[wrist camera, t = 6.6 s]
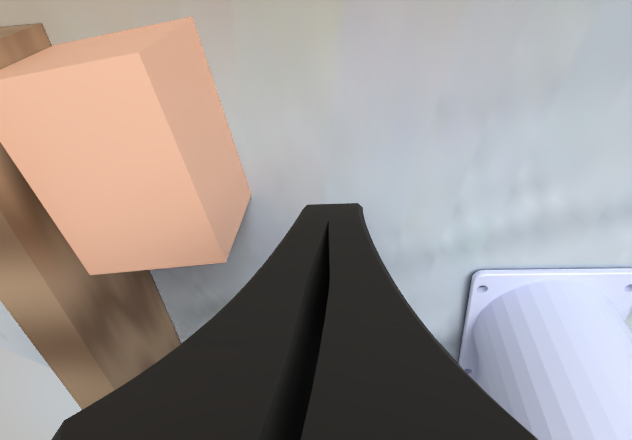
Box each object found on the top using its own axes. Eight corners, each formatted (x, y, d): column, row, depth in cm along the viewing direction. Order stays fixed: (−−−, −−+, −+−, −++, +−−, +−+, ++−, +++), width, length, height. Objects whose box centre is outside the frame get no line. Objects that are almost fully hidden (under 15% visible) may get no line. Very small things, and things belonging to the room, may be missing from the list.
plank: (199, 385, 31) (168, 474, 26) (165, 384, 31) (129, 473, 26) (41, 22, 17) (-89, 72, 12) (-17, 28, 17) (-166, 78, 12)
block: (252, 193, 21) (226, 262, 17) (139, 206, 22) (89, 275, 18) (193, 15, 16) (138, 52, 12) (55, 44, 17) (-37, 86, 13)
